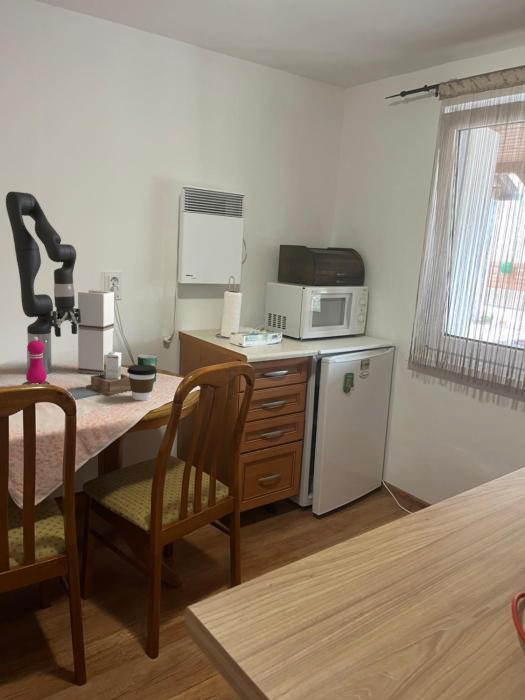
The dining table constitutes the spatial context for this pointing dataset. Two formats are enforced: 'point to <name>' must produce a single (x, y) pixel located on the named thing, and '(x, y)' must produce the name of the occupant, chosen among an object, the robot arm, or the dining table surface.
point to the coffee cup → (141, 381)
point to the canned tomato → (148, 360)
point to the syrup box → (112, 366)
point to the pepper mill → (35, 362)
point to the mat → (82, 392)
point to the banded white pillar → (95, 330)
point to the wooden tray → (109, 385)
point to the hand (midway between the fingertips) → (66, 335)
